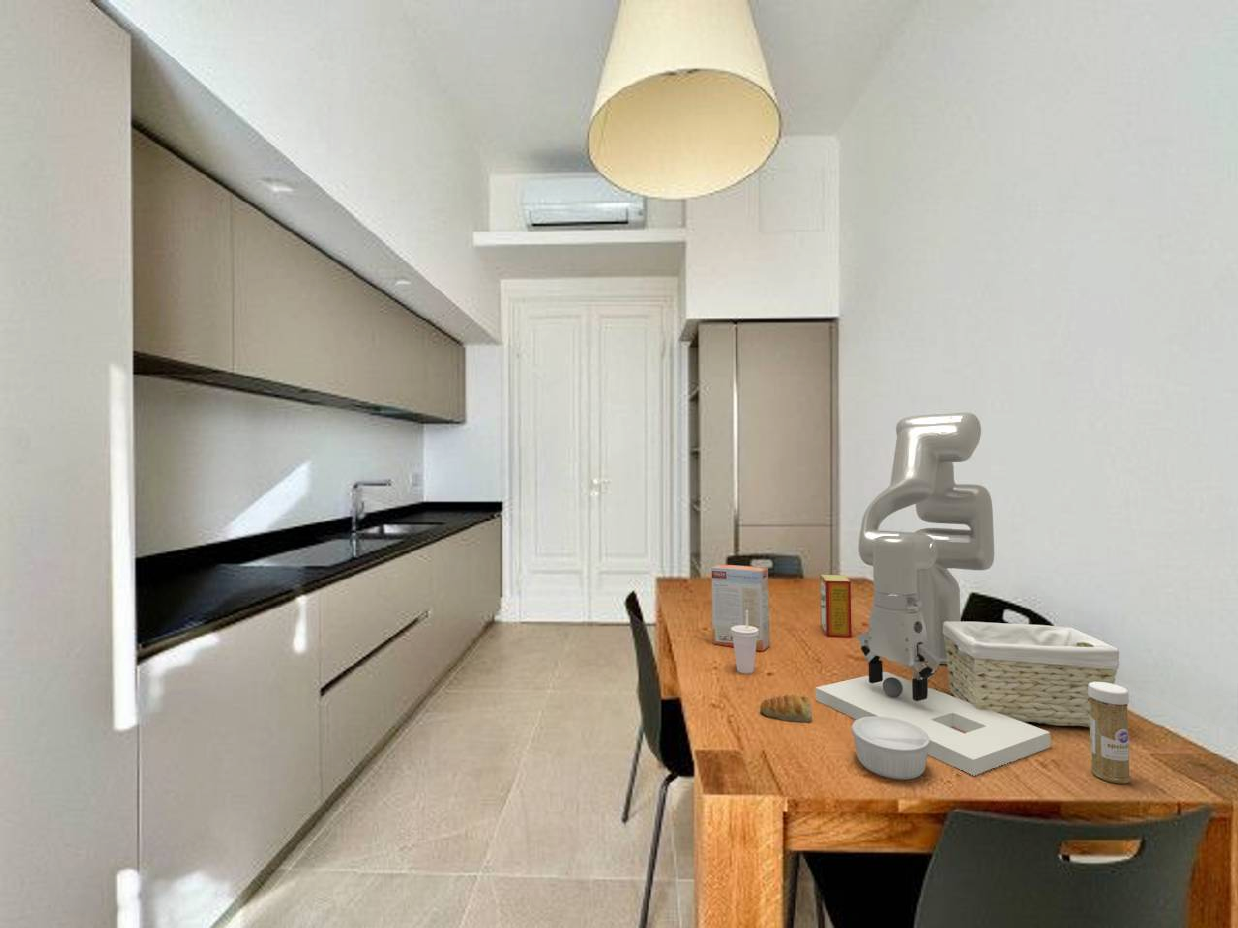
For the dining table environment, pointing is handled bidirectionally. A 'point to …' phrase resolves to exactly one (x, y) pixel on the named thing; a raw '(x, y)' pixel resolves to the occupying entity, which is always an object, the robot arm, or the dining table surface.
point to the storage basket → (1027, 669)
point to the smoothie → (744, 646)
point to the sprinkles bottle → (1109, 731)
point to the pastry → (788, 708)
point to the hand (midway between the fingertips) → (897, 690)
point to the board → (941, 723)
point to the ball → (892, 687)
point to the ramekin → (891, 747)
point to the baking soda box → (835, 606)
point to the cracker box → (740, 602)
